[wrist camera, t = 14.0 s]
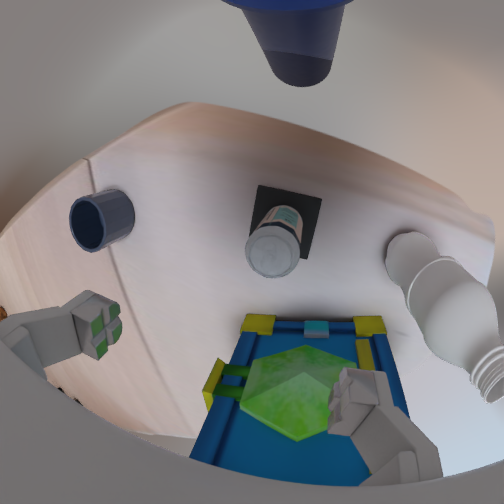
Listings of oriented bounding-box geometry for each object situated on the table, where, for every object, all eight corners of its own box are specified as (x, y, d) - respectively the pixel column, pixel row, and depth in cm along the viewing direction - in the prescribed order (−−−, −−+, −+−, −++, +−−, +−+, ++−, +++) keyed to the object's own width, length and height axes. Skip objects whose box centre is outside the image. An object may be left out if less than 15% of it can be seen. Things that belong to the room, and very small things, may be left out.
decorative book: (239, 300, 39) (140, 492, 12) (395, 302, 35) (463, 499, 7) (246, 370, 44) (188, 528, 16) (378, 373, 39) (397, 536, 12)
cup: (98, 186, 38) (68, 194, 32) (136, 192, 37) (106, 201, 31) (98, 232, 41) (70, 245, 35) (134, 242, 40) (106, 258, 34)
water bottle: (385, 223, 32) (494, 345, 8) (432, 230, 30) (554, 336, 7) (376, 275, 34) (438, 431, 11) (420, 279, 33) (505, 414, 10)
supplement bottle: (267, 243, 35) (247, 284, 24) (262, 206, 34) (238, 231, 23) (304, 240, 34) (301, 280, 23) (300, 202, 32) (296, 226, 21)
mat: (258, 185, 33) (257, 185, 33) (321, 198, 32) (321, 199, 32) (248, 244, 36) (247, 245, 36) (307, 258, 35) (307, 259, 35)
